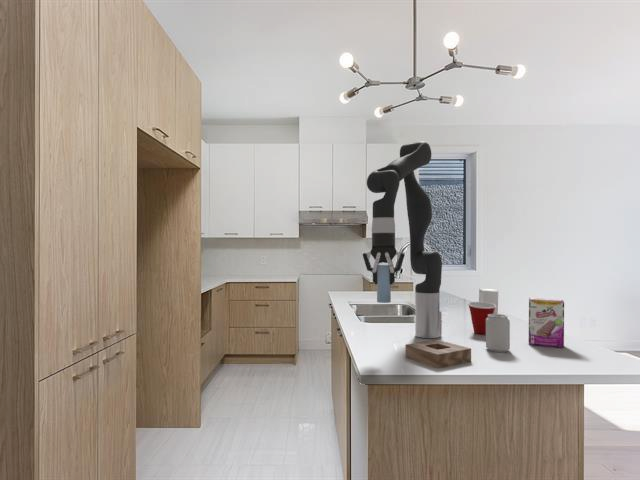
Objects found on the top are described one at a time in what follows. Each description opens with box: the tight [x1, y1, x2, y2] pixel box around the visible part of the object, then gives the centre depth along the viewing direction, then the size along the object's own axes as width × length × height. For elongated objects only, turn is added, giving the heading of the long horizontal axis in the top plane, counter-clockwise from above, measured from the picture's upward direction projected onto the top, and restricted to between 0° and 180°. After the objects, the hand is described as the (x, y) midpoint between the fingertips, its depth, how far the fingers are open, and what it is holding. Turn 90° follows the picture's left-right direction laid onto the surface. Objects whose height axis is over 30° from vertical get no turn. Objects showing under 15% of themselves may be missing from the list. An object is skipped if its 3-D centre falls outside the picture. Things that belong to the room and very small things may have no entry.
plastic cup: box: [467, 301, 496, 336], centre depth 171 cm, size 11×11×12 cm
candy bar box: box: [528, 297, 565, 349], centre depth 151 cm, size 11×5×16 cm, turn 65°
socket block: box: [405, 339, 472, 369], centre depth 133 cm, size 14×14×4 cm
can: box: [485, 313, 511, 353], centre depth 144 cm, size 8×8×12 cm
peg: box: [376, 264, 392, 304], centre depth 138 cm, size 4×4×12 cm
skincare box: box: [478, 288, 499, 314], centre depth 191 cm, size 8×7×16 cm
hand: (383, 283), depth 138 cm, fingers closed on peg, 4 cm apart
